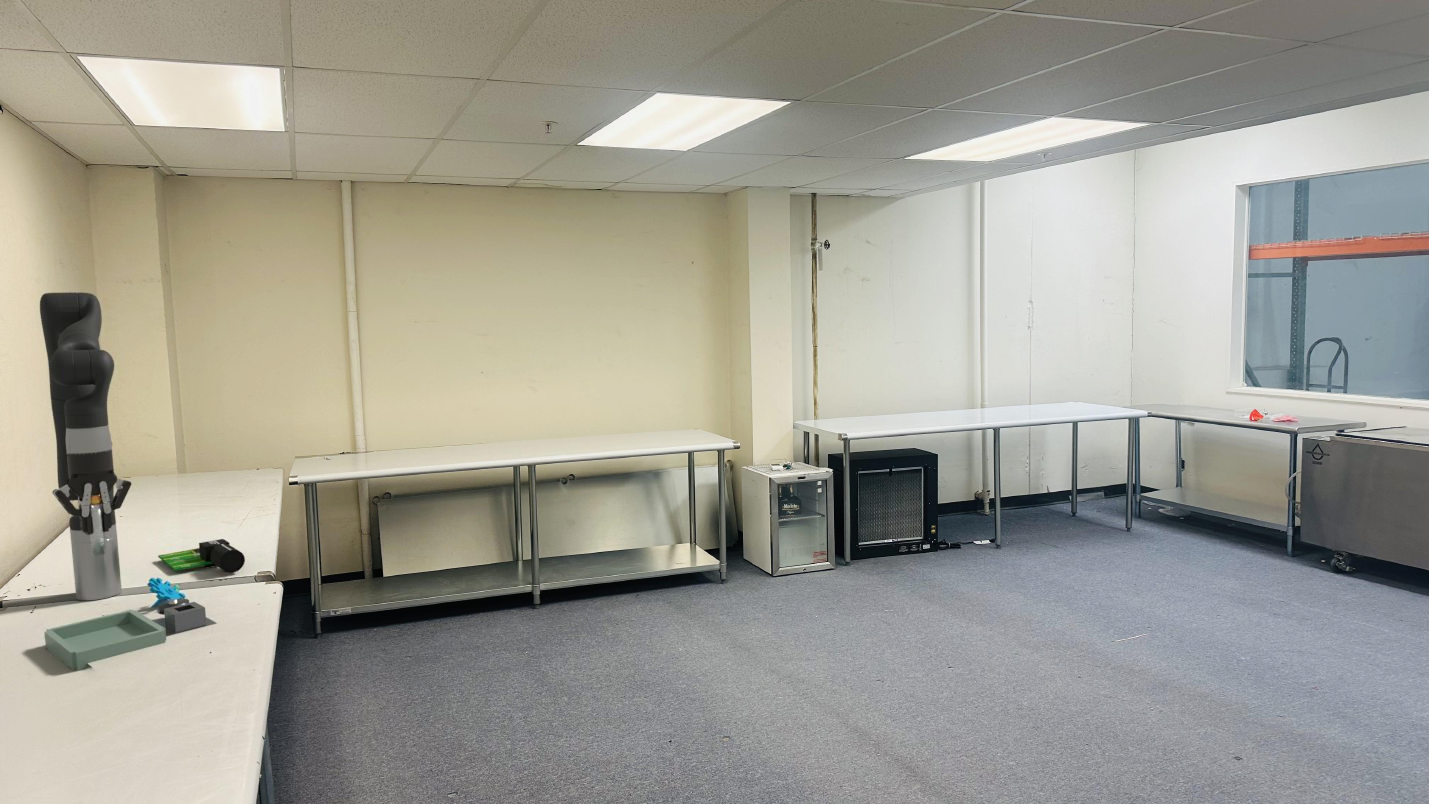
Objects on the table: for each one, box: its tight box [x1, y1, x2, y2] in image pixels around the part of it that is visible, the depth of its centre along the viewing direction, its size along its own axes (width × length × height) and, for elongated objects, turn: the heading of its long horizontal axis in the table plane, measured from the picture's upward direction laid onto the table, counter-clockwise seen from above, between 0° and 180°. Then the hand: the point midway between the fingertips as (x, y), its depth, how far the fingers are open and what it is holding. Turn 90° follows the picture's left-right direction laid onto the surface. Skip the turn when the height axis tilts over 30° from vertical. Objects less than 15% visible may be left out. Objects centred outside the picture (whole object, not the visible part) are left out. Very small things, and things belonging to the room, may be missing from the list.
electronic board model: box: [157, 538, 246, 574], centre depth 240 cm, size 30×7×15 cm
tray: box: [44, 609, 167, 671], centre depth 183 cm, size 20×16×4 cm
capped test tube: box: [89, 494, 106, 556], centre depth 180 cm, size 2×2×12 cm
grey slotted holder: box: [153, 598, 218, 638], centre depth 194 cm, size 13×10×6 cm
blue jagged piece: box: [146, 577, 186, 608], centre depth 206 cm, size 11×6×10 cm
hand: (96, 532), depth 181 cm, fingers closed on capped test tube, 2 cm apart
